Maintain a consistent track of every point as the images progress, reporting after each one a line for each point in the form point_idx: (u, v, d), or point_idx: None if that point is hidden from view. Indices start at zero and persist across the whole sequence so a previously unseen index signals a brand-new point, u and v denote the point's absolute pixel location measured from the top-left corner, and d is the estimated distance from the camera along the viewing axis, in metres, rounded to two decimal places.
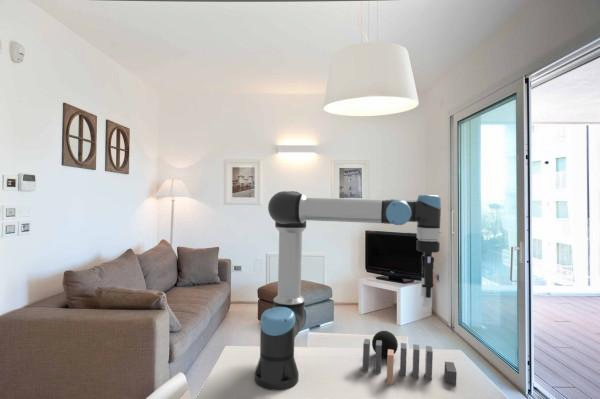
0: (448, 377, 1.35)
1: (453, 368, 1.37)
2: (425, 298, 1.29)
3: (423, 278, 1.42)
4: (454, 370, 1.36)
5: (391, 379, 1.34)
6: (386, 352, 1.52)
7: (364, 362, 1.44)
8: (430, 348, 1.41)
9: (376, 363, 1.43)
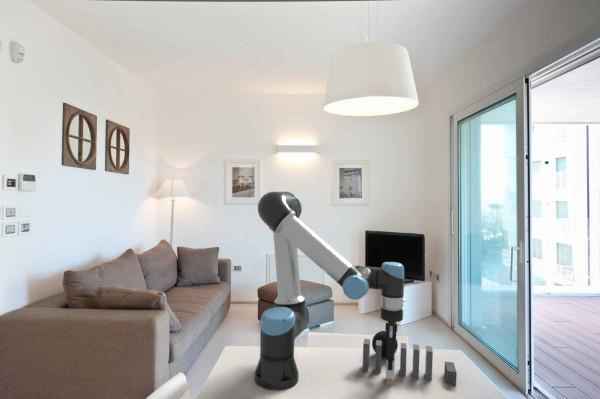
0: (448, 377, 1.35)
1: (453, 368, 1.37)
2: (387, 370, 1.34)
3: None
4: (454, 370, 1.36)
5: (391, 379, 1.34)
6: (386, 352, 1.52)
7: (364, 362, 1.44)
8: (430, 348, 1.41)
9: (376, 363, 1.43)
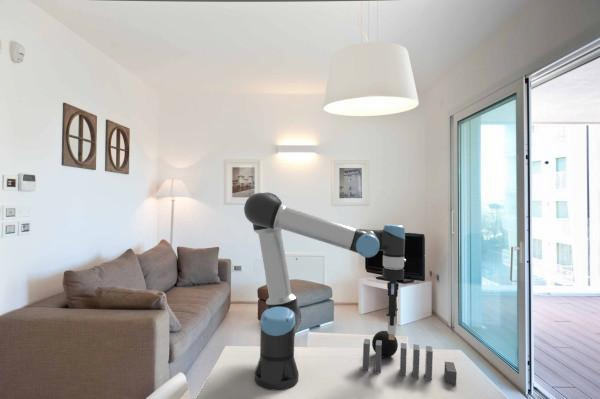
0: (448, 377, 1.35)
1: (453, 368, 1.37)
2: (389, 326, 1.41)
3: None
4: (454, 370, 1.36)
5: (392, 335, 1.41)
6: (386, 352, 1.52)
7: (364, 362, 1.44)
8: (430, 348, 1.41)
9: (376, 363, 1.43)
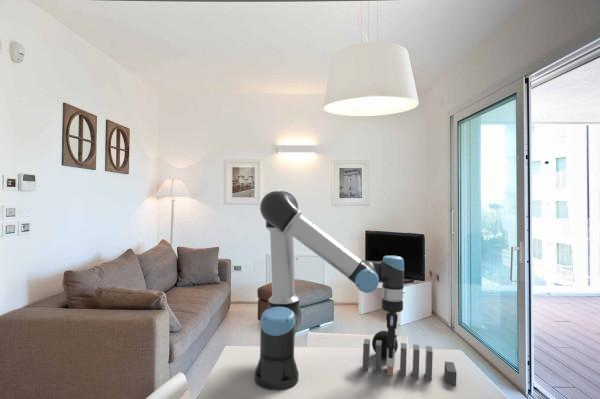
0: (448, 377, 1.35)
1: (453, 368, 1.37)
2: (388, 358, 1.39)
3: None
4: (454, 370, 1.36)
5: (391, 370, 1.41)
6: (386, 352, 1.52)
7: (364, 362, 1.44)
8: (430, 348, 1.41)
9: (376, 363, 1.43)
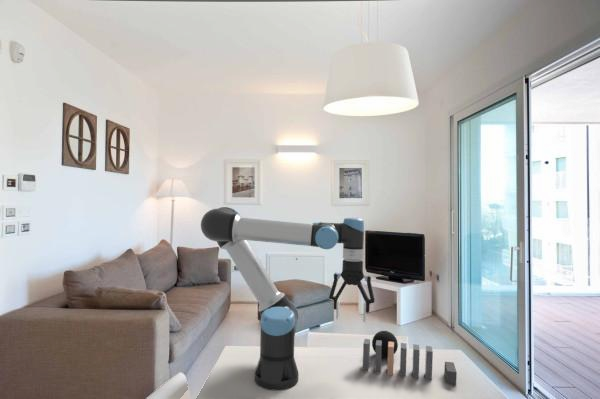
0: (448, 377, 1.35)
1: (453, 368, 1.37)
2: None
3: None
4: (454, 370, 1.36)
5: (391, 370, 1.41)
6: (386, 352, 1.52)
7: (364, 362, 1.44)
8: (430, 348, 1.41)
9: (376, 363, 1.43)
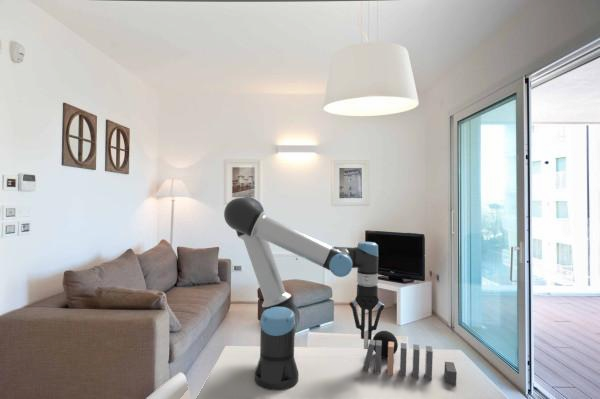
0: (448, 377, 1.35)
1: (453, 368, 1.37)
2: None
3: (366, 329, 1.47)
4: (454, 370, 1.36)
5: (391, 370, 1.41)
6: (386, 352, 1.52)
7: (366, 362, 1.44)
8: (430, 348, 1.41)
9: (376, 363, 1.43)
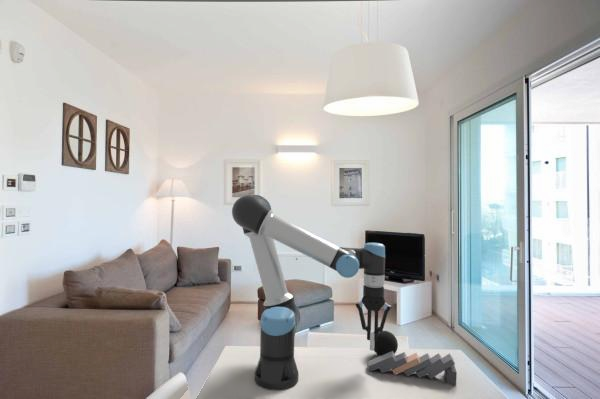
0: (448, 377, 1.35)
1: (453, 368, 1.37)
2: None
3: (372, 330, 1.46)
4: (454, 370, 1.36)
5: (398, 371, 1.41)
6: (386, 352, 1.52)
7: (376, 364, 1.43)
8: (453, 359, 1.39)
9: (388, 365, 1.42)
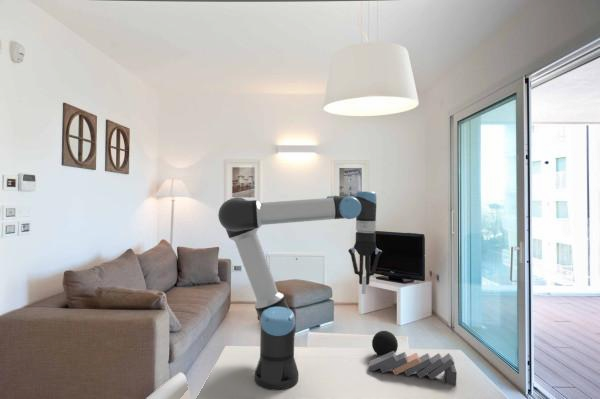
0: (448, 377, 1.35)
1: (453, 368, 1.37)
2: None
3: (364, 275, 1.52)
4: (454, 370, 1.36)
5: (398, 371, 1.41)
6: (386, 352, 1.52)
7: (377, 364, 1.43)
8: (452, 358, 1.39)
9: (388, 365, 1.42)
